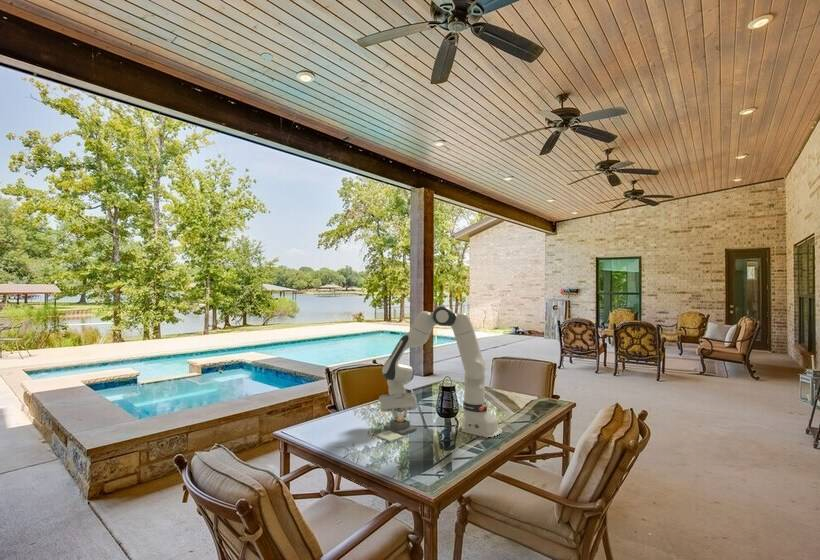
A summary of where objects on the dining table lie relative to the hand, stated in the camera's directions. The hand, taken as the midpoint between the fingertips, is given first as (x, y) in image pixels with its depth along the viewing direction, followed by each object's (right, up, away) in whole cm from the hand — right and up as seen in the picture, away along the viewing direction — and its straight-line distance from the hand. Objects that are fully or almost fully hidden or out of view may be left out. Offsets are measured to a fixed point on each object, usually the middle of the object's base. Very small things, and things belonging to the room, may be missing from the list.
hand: (400, 417), depth 213 cm
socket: (0, -7, +1) cm, 7 cm away
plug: (0, -5, +1) cm, 5 cm away
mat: (-5, -6, -10) cm, 13 cm away
